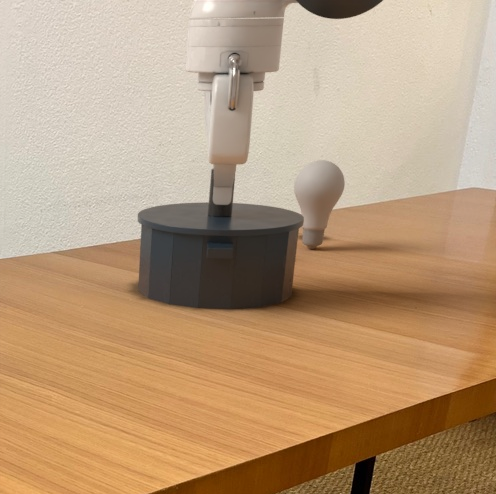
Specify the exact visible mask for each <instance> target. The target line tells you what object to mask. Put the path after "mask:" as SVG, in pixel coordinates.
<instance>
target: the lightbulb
mask: <svg viewBox="0 0 496 494" xmlns="http://www.w3.org/2000/svg"><path fill="white" fill-rule="evenodd" d="M344 176H345V175H344V173H343V172H342V170H341V168H340V167H339V165H337V164H336V163H334V162H332V161H329V160H325V159H318V160H314V161H311V162H309V163H307V164H305V165H304V166H303V167H302V168H301V169H300V170H299V172H298V173H297V175H296V176H295V179H294V184H293V191H294V195H295V198H296V202H297V203H298V206H299V208H300V209H299V210H300V212H301V215H302V216H303V217H304V223H303V226H302V227H301V228H302V244H303V245H304V246H306V247H307V248H308V249H310V250H313V249H317V247H319V246H321V245H322V244H323V242H324V236H325V231H326V229H327V228H328V223H329V220H330V216H331V214H332V212H333V210H334V208H335V206H336V205H337V203H338V202H339V200H340V199H341V197H342V195H343V193H344V190H345V183H346V182H345V181H346V180H345V177H344Z"/></svg>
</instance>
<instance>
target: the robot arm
mask: <svg viewBox="0 0 496 494" xmlns="http://www.w3.org/2000/svg"><path fill="white" fill-rule="evenodd" d="M382 2H384V0H192V3H191V4H192V5H191V7H190V10H189V15H188V26H187V40H186V59H185V72H188V73H194V74H195V73H196V74H197V85H196V86H197V87H196V89H197V90H198V91H201V92H203V97H204V123H205V126H204V127H205V138H206V150H207V151H206V152H207V161H208V163H210V164H211V165H212V169H213V168H214V190H213V203H214V204H216V205H228V204H230V203H231V198H232V187H233V182H234V177H235V178H236V171H237V165H244V164H246V163H247V161H248V157H249V154H250V145H251V131H252V121H253V120H252V119H253V107H254V106H253V105H254V93H255V92H260V91H263V90H264V89H265V82H264V81H265V78H266V73H276V72H279V70H280V62H281V54H282V53H281V52H282V42H283V41H282V40H283V31H284V23H285V22H284V21H285V14H286V13H285V12H286V9H287V7H288V6H290V5H291V4H292V5H293V4H299V5H300V6H301V8H303V9H305V10H306V11H307V12H309V13H311V14H313V15H315V16H317V17H321V18H324V19H330V20H343V19H350V18H354V17H357V16H360V15H362V14H365V13H367V12H369V11H371V10H372V9H373V8H376V7H377V6H378V5H380V4H381V3H382Z"/></svg>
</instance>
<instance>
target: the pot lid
mask: <svg viewBox="0 0 496 494" xmlns="http://www.w3.org/2000/svg"><path fill="white" fill-rule="evenodd" d="M235 182H236V176H235V177H234V182H233V187H232V198H231V203H230V204H228V205H216V204H214V203H213V190H214V168H213V167H212V168H211V170H210V180H209V193H208V202H182V203H169V204H162V205H156V206H151V207H147V208H144V209H142V210H140V211H139V212H138V213H137V222H138V224H140V225H144V226H146V227H149V228H152V229H156V230H161V231H166V232H173V233H181V234H190V235H204V236H258V235H270V234H278V233H284V232H289V231H293V230H296V229H298V228H299V229H300V228H303V227H302V226H303V223H304V217H303V216H302V213H301V214H300V213H299V212H297V211H294V210H290V209H286V208H282V207H276V206H270V205H263V204H254V203H253V204H252V203H239V202H234V193H235V184H236V183H235Z"/></svg>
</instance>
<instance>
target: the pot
mask: <svg viewBox="0 0 496 494" xmlns="http://www.w3.org/2000/svg"><path fill="white" fill-rule="evenodd" d="M140 225H141V228H140V245H139V247H140V249H139V266H138V267H139V268H138V284H137V285H138V286H137V287H138V288H137V292H138V293H140V294H141V295H142V296H144V297H145V298H147V299H149V300H153V301H156V302H160V303H163V304H167V305H172V306H178V307H179V306H180V307H186V308H194V309H206V310H207V309H208V310H210V309H211V310H241V309H256V308H258V309H259V308H263V307H268V306H273V305H278V304H282V303H283V302H285V301H286V300H288V299H290V298H291V297H292V291H293V284H294V275H295V265H296V257H297V248H298V240H299V230H300V228H298V229H296V230H293V231H289V232H284V233H278V234H270V235H258V236H204V235H190V234H181V233H173V232H166V231H161V230H156V229H152V228H149V227H146V226H144V225H142V224H140Z"/></svg>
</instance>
